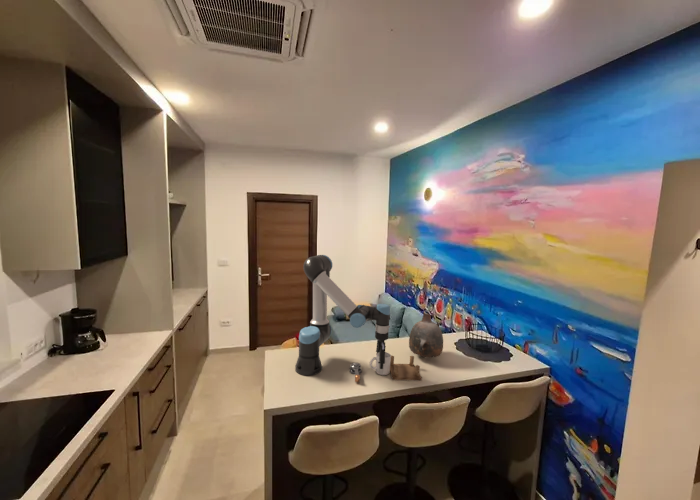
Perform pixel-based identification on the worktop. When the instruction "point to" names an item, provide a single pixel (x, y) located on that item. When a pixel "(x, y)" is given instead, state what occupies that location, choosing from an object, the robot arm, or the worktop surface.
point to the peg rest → (404, 370)
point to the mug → (386, 365)
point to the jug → (426, 338)
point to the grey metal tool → (356, 370)
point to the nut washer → (354, 372)
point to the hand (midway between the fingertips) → (379, 369)
